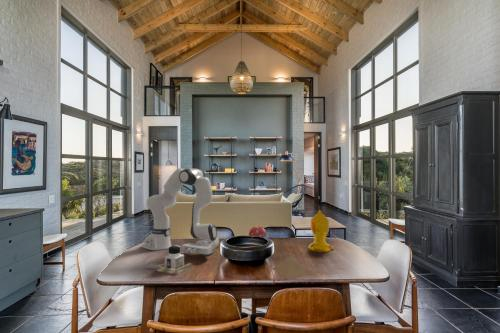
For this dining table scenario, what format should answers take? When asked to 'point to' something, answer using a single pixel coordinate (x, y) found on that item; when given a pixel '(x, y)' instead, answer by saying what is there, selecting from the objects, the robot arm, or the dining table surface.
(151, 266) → the slate tile
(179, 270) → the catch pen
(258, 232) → the decorative mushroom
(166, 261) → the container
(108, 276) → the dining table surface
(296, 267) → the model pyramid
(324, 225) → the yellow statue
